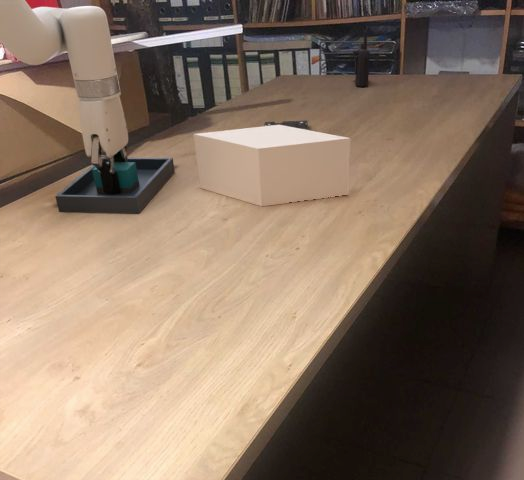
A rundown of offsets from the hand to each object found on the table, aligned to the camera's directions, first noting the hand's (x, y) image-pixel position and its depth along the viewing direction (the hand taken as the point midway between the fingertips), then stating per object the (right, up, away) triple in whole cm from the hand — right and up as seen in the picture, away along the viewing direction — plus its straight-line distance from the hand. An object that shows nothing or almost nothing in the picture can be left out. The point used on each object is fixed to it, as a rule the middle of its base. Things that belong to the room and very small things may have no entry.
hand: (117, 187), depth 115 cm
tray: (0, 0, +1) cm, 2 cm away
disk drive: (+33, +16, +22) cm, 43 cm away
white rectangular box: (+30, -2, -3) cm, 30 cm away
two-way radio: (+57, +47, +63) cm, 97 cm away
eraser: (0, 0, 0) cm, 0 cm away
